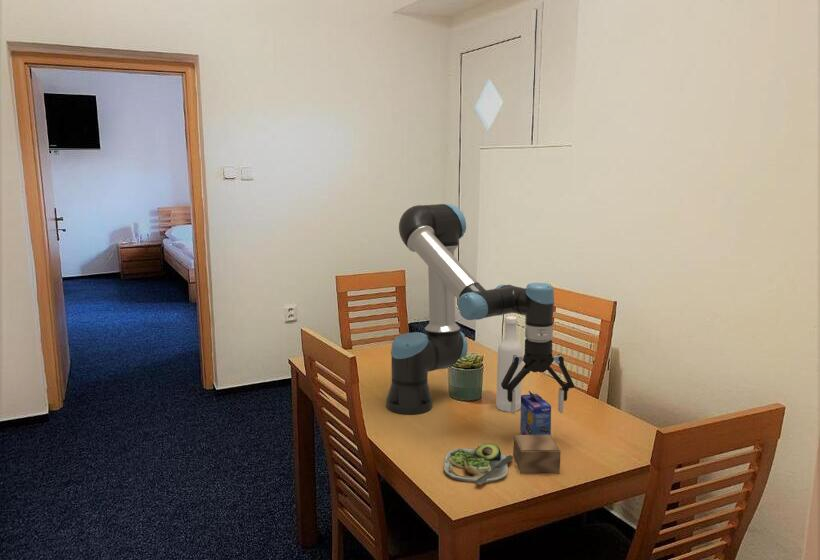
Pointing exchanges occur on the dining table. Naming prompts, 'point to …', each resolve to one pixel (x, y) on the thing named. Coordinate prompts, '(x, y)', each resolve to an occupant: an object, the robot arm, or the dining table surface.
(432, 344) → the robot arm
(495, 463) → the avocado toast plate
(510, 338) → the bottle
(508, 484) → the dining table surface
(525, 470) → the brown wooden block
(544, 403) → the ink cartridge box
